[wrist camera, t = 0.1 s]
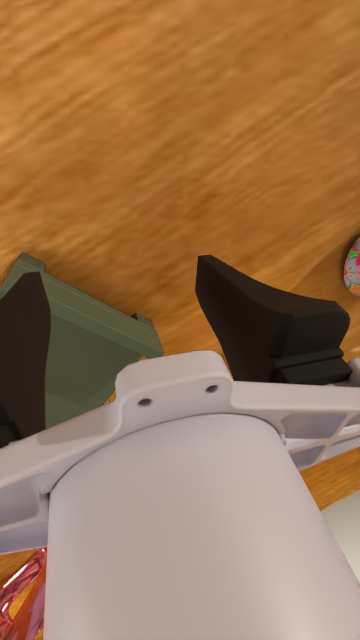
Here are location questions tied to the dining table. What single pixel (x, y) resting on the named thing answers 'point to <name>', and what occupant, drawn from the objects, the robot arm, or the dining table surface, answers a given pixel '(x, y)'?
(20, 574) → the spiral basket
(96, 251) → the dining table surface
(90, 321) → the shelf
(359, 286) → the floral vase
